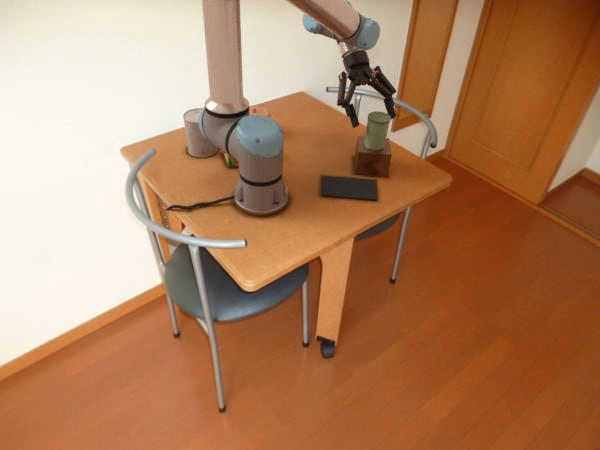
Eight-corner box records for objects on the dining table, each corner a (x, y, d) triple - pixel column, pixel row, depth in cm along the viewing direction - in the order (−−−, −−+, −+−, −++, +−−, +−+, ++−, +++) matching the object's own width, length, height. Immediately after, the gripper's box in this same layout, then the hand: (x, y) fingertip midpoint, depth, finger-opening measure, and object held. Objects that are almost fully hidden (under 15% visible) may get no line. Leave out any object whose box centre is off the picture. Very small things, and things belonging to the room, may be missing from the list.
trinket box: (272, 126, 151) (272, 102, 145) (267, 141, 143) (267, 116, 137) (243, 124, 152) (242, 99, 146) (236, 138, 144) (235, 113, 138)
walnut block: (355, 174, 131) (358, 151, 126) (354, 157, 138) (357, 135, 133) (386, 176, 131) (391, 154, 125) (384, 159, 138) (389, 138, 133)
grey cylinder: (183, 154, 135) (177, 119, 127) (195, 140, 142) (191, 106, 134) (210, 159, 133) (206, 124, 125) (222, 144, 140) (219, 110, 132)
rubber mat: (321, 196, 121) (321, 194, 121) (322, 176, 129) (323, 175, 129) (376, 200, 121) (376, 199, 121) (374, 181, 128) (374, 179, 128)
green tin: (363, 149, 127) (368, 120, 121) (363, 138, 132) (367, 110, 126) (385, 151, 127) (391, 122, 120) (384, 140, 132) (389, 112, 125)
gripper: (380, 55, 134) (400, 119, 134) (313, 66, 125) (334, 134, 125) (394, 43, 127) (414, 110, 127) (323, 53, 118) (345, 125, 118)
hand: (375, 122), depth 126 cm, fingers open, 13 cm apart
